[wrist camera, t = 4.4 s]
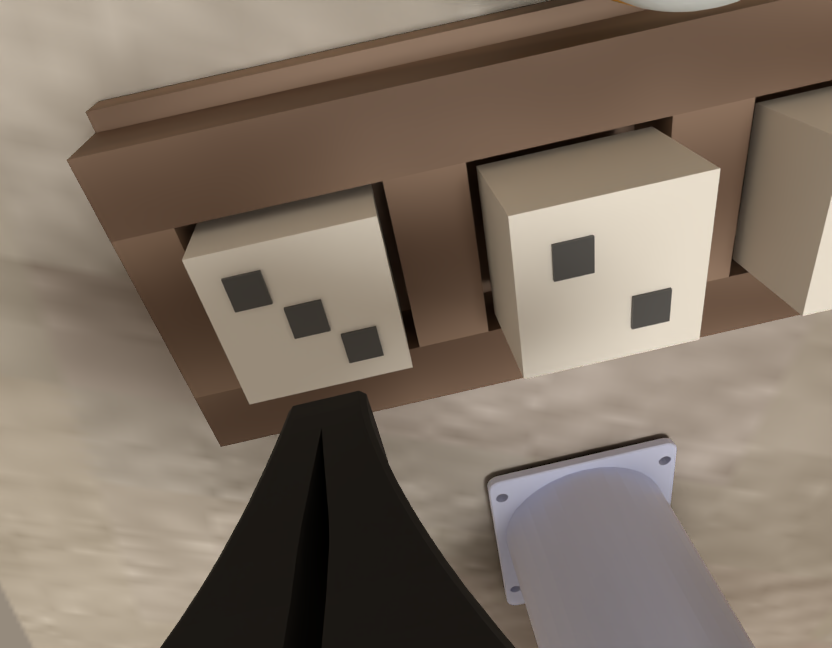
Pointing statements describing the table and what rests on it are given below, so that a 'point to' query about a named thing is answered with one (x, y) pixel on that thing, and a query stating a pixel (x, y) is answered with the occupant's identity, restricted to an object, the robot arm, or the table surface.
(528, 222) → the key two
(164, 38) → the table surface
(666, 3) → the supplement bottle
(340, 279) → the key three
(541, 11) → the brown wooden tray
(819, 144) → the key one
